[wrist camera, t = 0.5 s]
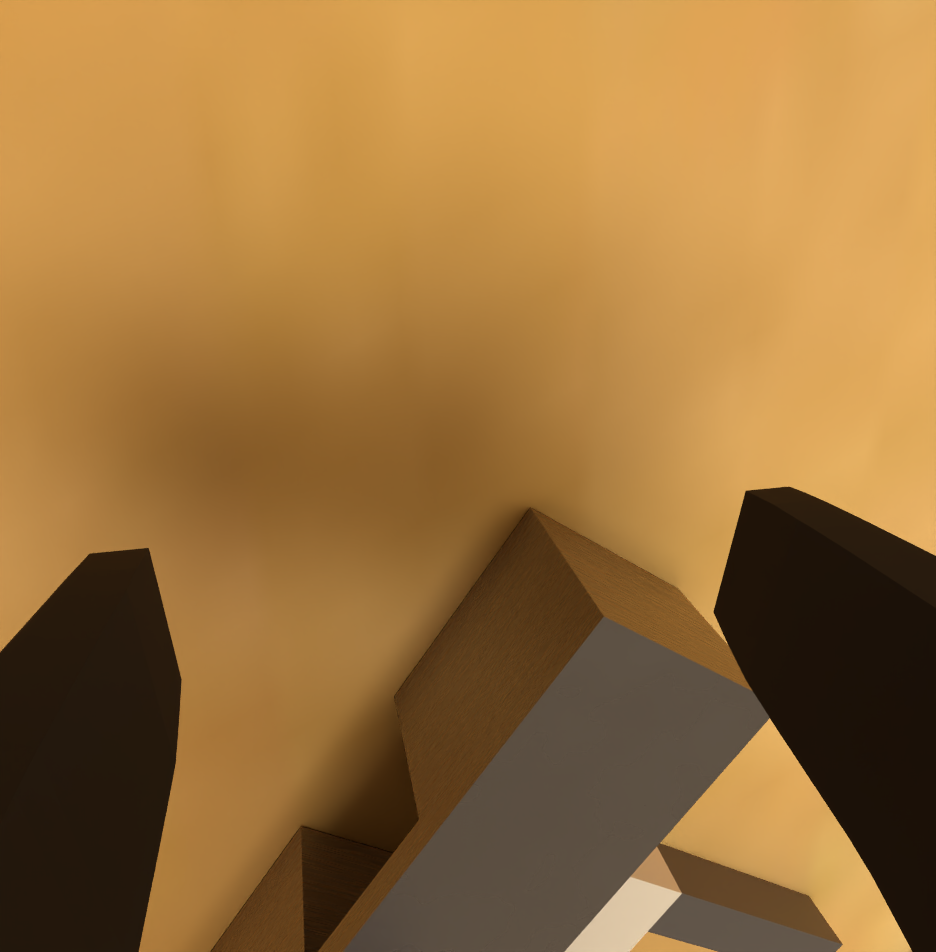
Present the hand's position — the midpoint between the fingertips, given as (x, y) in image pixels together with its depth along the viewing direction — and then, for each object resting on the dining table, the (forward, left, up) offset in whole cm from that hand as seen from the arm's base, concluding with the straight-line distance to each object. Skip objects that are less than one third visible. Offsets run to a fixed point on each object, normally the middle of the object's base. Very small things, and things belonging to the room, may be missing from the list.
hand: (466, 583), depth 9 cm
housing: (-11, -9, -10) cm, 18 cm away
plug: (-11, -20, -10) cm, 26 cm away
